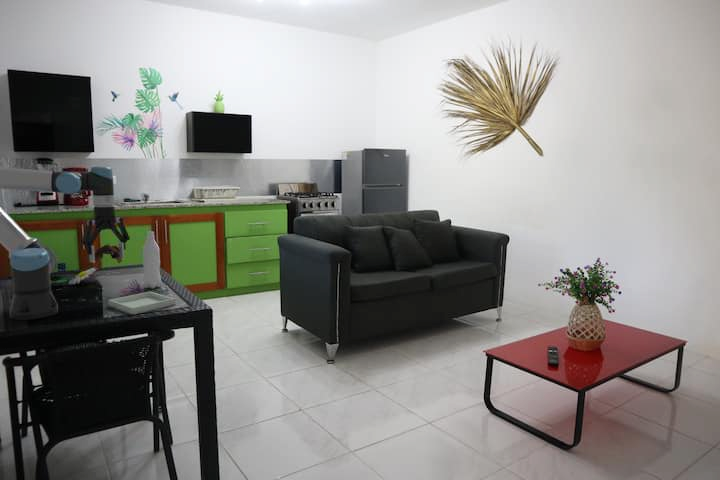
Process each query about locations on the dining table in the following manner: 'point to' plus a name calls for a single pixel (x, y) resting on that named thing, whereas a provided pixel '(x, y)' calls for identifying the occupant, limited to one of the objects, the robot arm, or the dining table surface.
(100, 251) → the broken clay pot
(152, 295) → the tray
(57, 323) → the dining table surface
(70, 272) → the dining table surface
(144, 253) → the water bottle
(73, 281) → the decorative flower
